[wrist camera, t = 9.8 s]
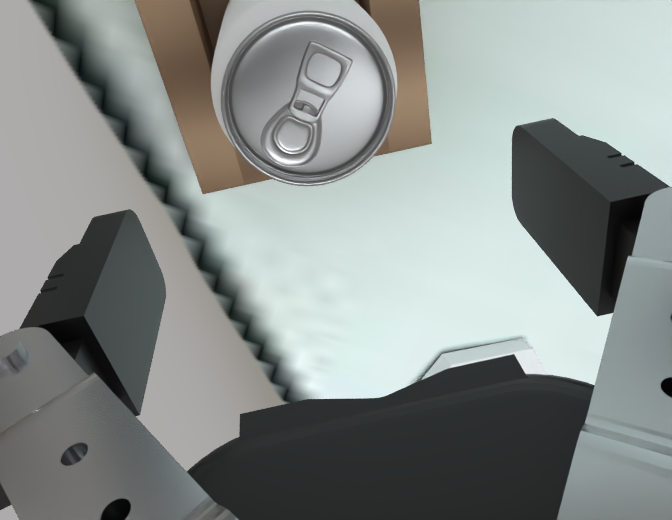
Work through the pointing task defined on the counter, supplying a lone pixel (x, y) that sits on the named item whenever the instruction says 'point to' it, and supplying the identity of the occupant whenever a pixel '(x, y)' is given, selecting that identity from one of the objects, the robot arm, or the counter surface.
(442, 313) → the counter surface
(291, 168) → the can
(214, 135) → the brown open box
